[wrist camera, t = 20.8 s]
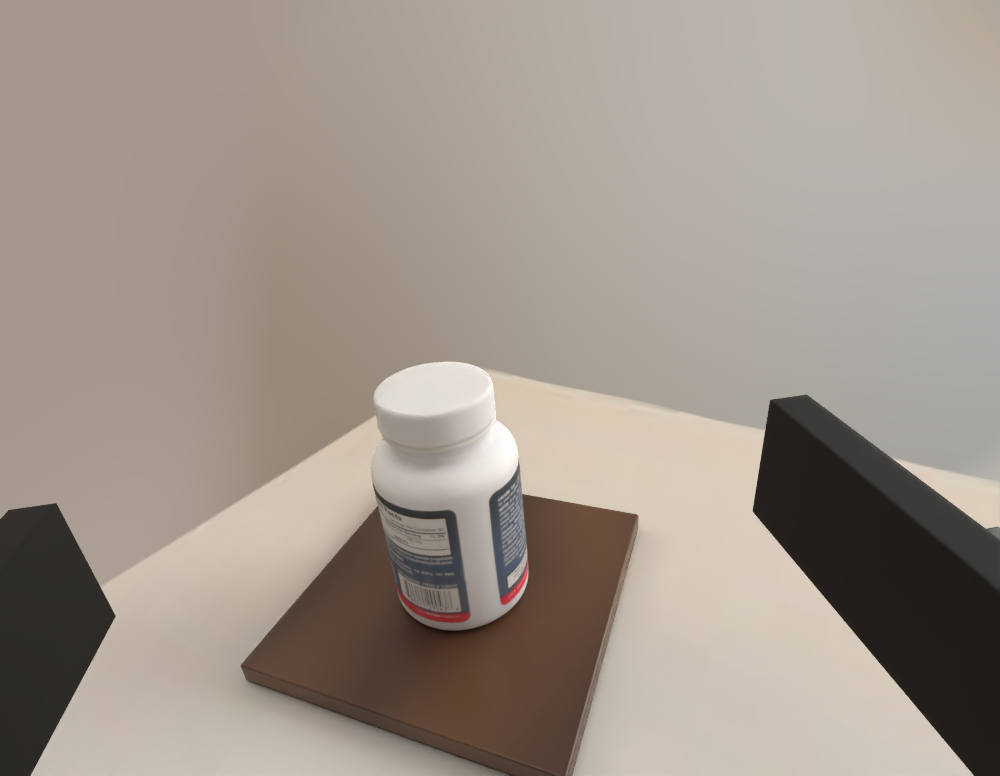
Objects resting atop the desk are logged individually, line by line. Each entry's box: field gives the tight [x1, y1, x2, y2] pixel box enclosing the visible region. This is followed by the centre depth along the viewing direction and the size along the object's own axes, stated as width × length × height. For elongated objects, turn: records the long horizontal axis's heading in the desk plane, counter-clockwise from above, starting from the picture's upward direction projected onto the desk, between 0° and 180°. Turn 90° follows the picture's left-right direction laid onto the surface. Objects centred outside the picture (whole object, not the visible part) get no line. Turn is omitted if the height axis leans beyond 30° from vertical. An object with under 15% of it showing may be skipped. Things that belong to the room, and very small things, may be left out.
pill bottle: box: [371, 362, 528, 631], centre depth 22 cm, size 5×5×9 cm
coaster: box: [241, 494, 638, 776], centre depth 24 cm, size 12×12×1 cm
